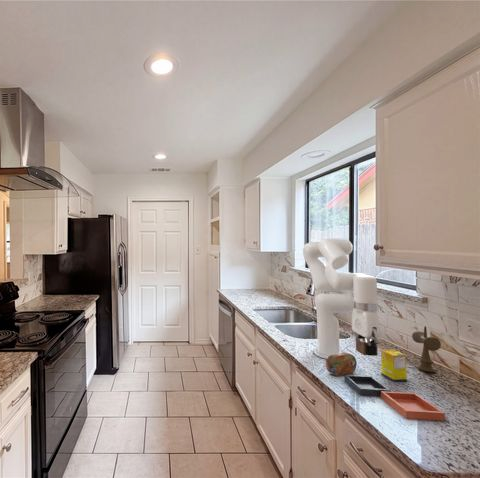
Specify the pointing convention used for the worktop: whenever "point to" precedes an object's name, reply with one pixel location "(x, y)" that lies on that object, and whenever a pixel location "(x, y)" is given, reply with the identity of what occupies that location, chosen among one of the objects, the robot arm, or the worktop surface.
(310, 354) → the worktop surface
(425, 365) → the kendama
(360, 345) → the walnut block
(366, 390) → the charcoal tray
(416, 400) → the terracotta tray
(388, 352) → the supplement box
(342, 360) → the tin
